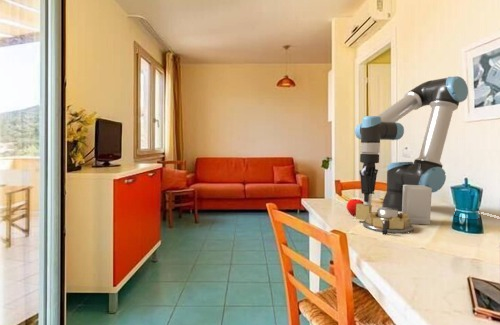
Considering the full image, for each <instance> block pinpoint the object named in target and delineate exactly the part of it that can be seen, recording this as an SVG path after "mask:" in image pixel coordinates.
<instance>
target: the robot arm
mask: <svg viewBox="0 0 500 325" xmlns="http://www.w3.org/2000/svg"><path fill="white" fill-rule="evenodd" d="M468 96H469V87H468V84H467V82H466V80H465V79H464V78H463V77H461V76H456V75H454V76H448V77H444V78H437V79H433V80H428V81H425V82H422V83H421V84H419V85H417V86H415V87H414V88H412V89H411V90H409V91H408V92H406V93H405V94H404V96H403V97H402V98H401V99H399V100H398V101H396V102H395V103H394V104H391V105H390V106H389V107H388V108H386V109H385V110H383V111H381V113H379V114H377V115H365V116H363V118H362V119H361V123H358V124H357V125H356V127H355V129H354V135H355V137H356V138H358V139H359V140H360V145H359V147H360V154H359V156H360V157H359V162H360V163H362V164H363V165H362V170H361V169H360V170H359V175H360V189H361V191H360V192H361V194H363V203H364V204H366V205H372V196H373V195H374V194H375V189H376V182H377V177H378V176H377V175H378V173H379V170H378V168H377V169H376V164H379V163H380V154H379V153H381V152H380V151H381V150H380V149H381V148H380V147H381V141H383V140H384V141H385V140H387V141H398V140H400V139H402V138H403V136H404V134H405V128H404V126H403V124H402V123H400V122H398V121H399V120H401V119H402V118H403V117H405V116H407V115H408V114H409V113H411V112H413V111H414V110H415V111H416V110H417V111H418V110H419V109H420V108H422V107H426V106H429V107H430V108H431V110H430V111H431V112H430V115H429V118H428V123H427V126H426V130H425V135H424V136H423V141H422V145H421V149H420V151H419V152H420V153H419V156H418V157H417V158H415V159H414V161H398V162H397V161H396V162H390V163H388V165H387V170H386V192H385V195H384V198H383V200H382V203H381V205H382V207H387V208H394V209H397V210H398V212H402V198H403V185H424V186H427V187H429V188H432V193H436V192H438V191H439V190H440V189H442V187H443V186H444V185H445V182H446V179H447V175H446V171H445V170H444V168H443V166H444V165H443V164H442V162H441V158H442V154H443V151H444V146H445V143H446V140H447V135H448V131H449V128H450V124H451V121H452V120H451V119H452V117H453V112H454V111H456V110H458V108H459V105H460V103H462V102H464V101H466V99H467V98H468Z"/></svg>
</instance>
